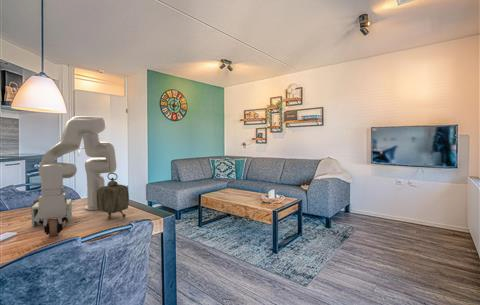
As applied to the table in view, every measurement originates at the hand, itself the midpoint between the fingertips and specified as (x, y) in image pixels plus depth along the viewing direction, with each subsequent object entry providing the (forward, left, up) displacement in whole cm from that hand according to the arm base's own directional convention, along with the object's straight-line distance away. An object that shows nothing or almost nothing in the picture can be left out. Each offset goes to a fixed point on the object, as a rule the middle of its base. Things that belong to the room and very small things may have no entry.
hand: (53, 232), depth 106 cm
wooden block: (+14, -66, -2) cm, 68 cm away
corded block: (0, -7, -1) cm, 7 cm away
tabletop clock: (-24, -16, -2) cm, 29 cm away
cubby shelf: (+4, -26, -1) cm, 26 cm away
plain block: (+7, -25, -2) cm, 26 cm away
